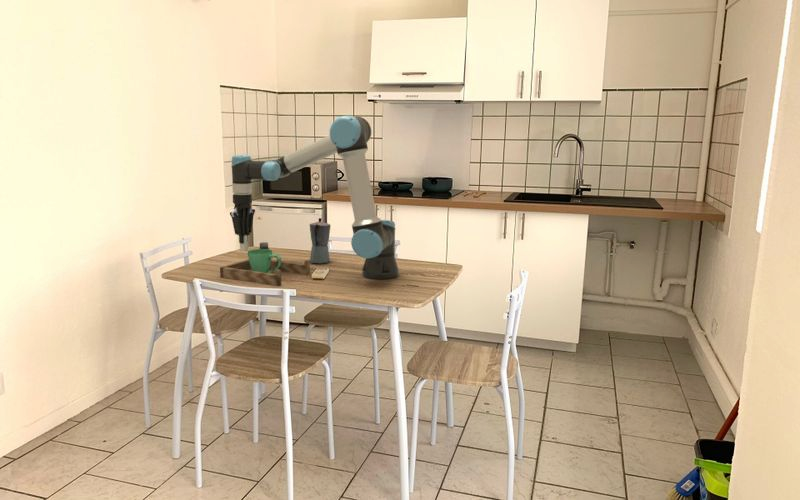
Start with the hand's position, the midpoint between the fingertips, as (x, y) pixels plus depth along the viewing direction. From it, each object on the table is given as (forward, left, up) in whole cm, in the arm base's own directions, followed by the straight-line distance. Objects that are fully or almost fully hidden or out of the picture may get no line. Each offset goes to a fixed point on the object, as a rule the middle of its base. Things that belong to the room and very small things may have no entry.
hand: (243, 250), depth 245 cm
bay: (-11, -2, -9) cm, 15 cm away
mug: (-11, 0, -10) cm, 15 cm away
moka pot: (-16, -32, -10) cm, 37 cm away
